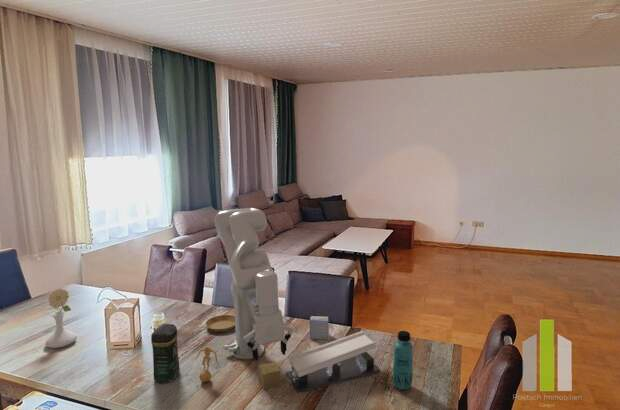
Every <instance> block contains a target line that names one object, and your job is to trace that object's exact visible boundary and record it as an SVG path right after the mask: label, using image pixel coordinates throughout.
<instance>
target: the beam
mask: <svg viewBox="0 0 620 410" xmlns="http://www.w3.org/2000/svg"><path fill="white" fill-rule="evenodd" d="M376 348H377V346H376V341H373V340H371V338H369V337H368V336H367V335H366V334H365V332H364V331H363V330H361V331H358V332H355V333H352V334H349V335H346V336H344V337H341V338H338V339H336V340H334V341H330V342H327V343H324V344H322V345H318V346H316V347H313V348H311V349H308V350H305V351H302V352H300V353H296V354H294V355H291V356H289V357H288V359H289V364H290V365H291V368H292V367H293V368H294V370H295V371H296V373H297V375H298V376H299V377H301V376H304V375H306V374H309V373H311V372H314V371H317V370H319V369H322V368H325V367H327V366H330V365H333V364H335V363H338V362H340V361H343V360H346V359H348V358H351V357H354V356H356V355H359V354H361V353H364V352H367V353H368V351H373V350H375V349H376Z"/></svg>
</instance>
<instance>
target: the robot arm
mask: <svg viewBox="0 0 620 410" xmlns="http://www.w3.org/2000/svg"><path fill="white" fill-rule="evenodd" d="M267 221H268V219H267V216H266V215H265V213H264V211H262V210H261V209H258V208H254V207H245V208H233V209H226V210H222V211H219V212H217V213H216V214H215V217H214V226H215V227H214V228H215V230H216V233H217V235H218V238H219V239H220V241H221V242H222V244H223V246H224V250H225V253H226V254H225V255H226V258H227V261H228V266H229V269H230V271H231V272H230V273H231V276H232V278H233V279H232V281H231V283H230V291H231V294H232V295H231V296H232V301H233V309H234V316H235V326H234V328H235V329H234V330H235V331H234V332H235V339H234V341H233V343H231V344H225V345H224V346H223V350H224V352H226V351H228V353H232V355H233V357H235V358H236V359H239V360H243V361H244V360H255V362H258V361H259V358H260V356H263V354H264V352H265V346H264V345H268V344H272V343H276V342H277V343H278V342H279V343H280V352H281V354H282V355H283V356H285V355H286V352H287V349H288V348H287V344H288V342H289V340H290V338H291V337H292V334H293V333H294V328H292V327H290V326H289V325H285V323H284V317H283V312H282V310H281V309H280V308H279V307H280V305H279V284H278V283H279V281H278V274H277V273H276V272H275V270H274V269H273V268H272V265H271V262H270V259H269V256H268V254H267V252H266V251H265V250H264V249H262V248H258V247H259V244H260V240H259V238H258V235H257V232H259V231H260V232H261V231H264V230H265V229H266V228H267V226H268V223H267ZM253 300H255V302H254V301H253ZM285 331H286V332H285Z"/></svg>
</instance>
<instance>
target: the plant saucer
mask: <svg viewBox="0 0 620 410" xmlns="http://www.w3.org/2000/svg"><path fill="white" fill-rule="evenodd" d="M205 326H206V327H207V328H208V329H209V330H210V331H213V332H215V333H224V331H225V332H227V331H231V330H233V328H235V315H231V314H223V315H216V316H212V317H210V318H209V319H207V320H206V321H205Z"/></svg>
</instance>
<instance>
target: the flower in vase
mask: <svg viewBox="0 0 620 410" xmlns="http://www.w3.org/2000/svg"><path fill="white" fill-rule="evenodd" d="M69 298H70V295H69V291H68V290H66V289H64V288H61V287H60V288H58V289H55V290H53V291H51V293H50V294H49V297H48V303H49V306H50V307H51V308H52V309H54V310H57V311H54V312H52V313H51V314H50V315H51V317H53V319H54V321H55V325H56V329H55V331H54V332H53V333H52V334H50V336H49V337H48V338H47V340H45V346H46V347H47V348H50V349H56V348H63V347H65V346H69V345H71V344H73V343H74V342H75V341H76V340H77V338H78V336H77V334H76V333H75V332H73V331H70V330H67V329H65V327H64V325H63V318H64V315H65V313H66V312H69V311H72V308H71V307H70V306H69V305H68V304H66V303H67V302H68V299H69Z"/></svg>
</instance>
